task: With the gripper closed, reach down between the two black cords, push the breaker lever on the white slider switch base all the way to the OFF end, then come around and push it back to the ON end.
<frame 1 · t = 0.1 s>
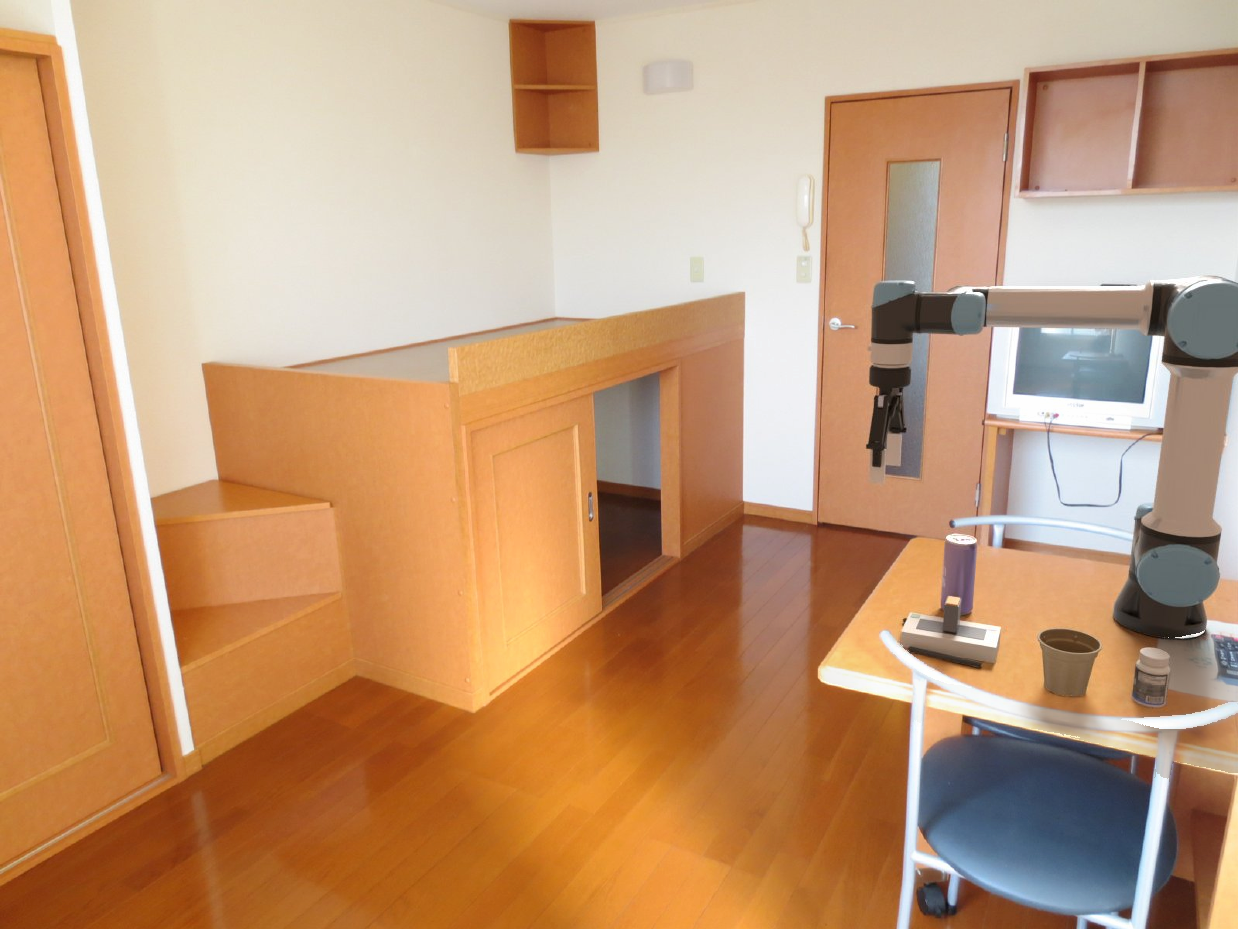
hand: (885, 473, 171), 28 cm above the table, fingers open, 13 cm apart
breaker lever: (952, 613, 160), point 6 cm above the table, slide at 0.0 cm
beverage can: (956, 611, 176), on the table
flower pot: (1064, 689, 146), on the table
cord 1: (944, 659, 156), on the table
pill bottle: (1148, 702, 141), on the table
white slider switch base: (950, 644, 162), on the table
cord 2: (949, 629, 168), on the table
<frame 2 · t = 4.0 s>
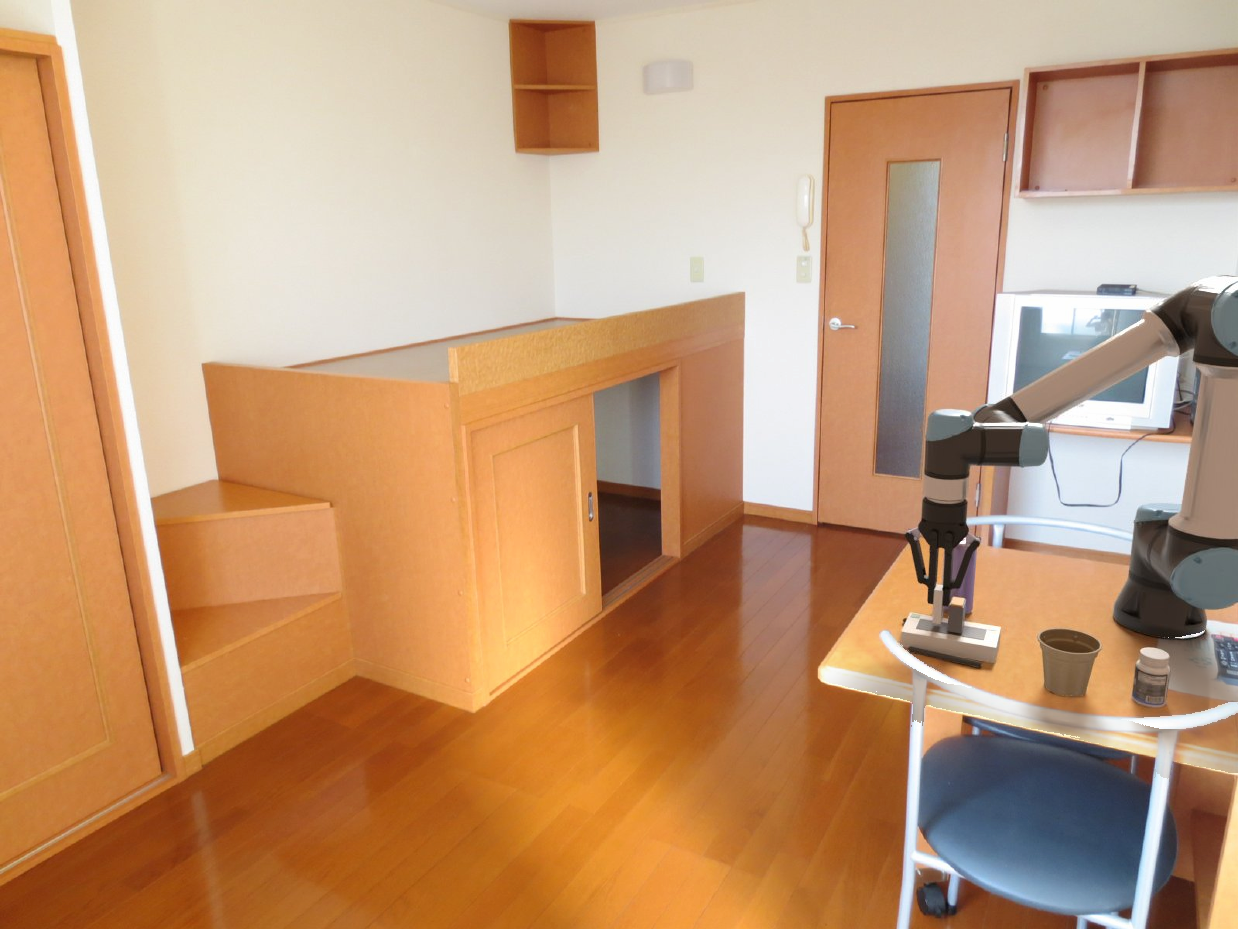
hand: (937, 620, 162), 4 cm above the table, fingers closed
breaker lever: (956, 614, 160), point 6 cm above the table, slide at -0.8 cm, touching gripper
everything else where it was.
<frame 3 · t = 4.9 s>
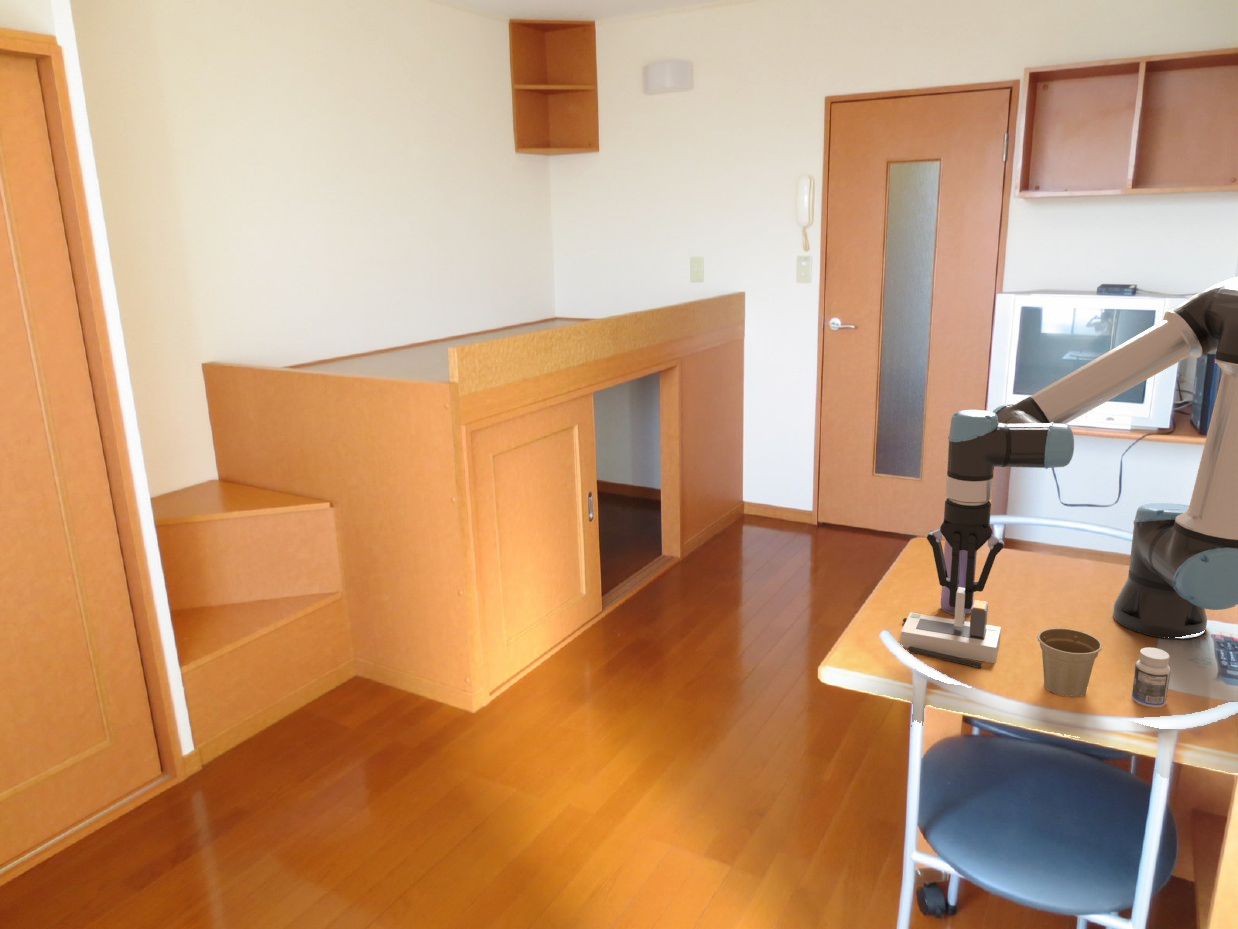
hand: (959, 623, 160), 4 cm above the table, fingers closed
breaker lever: (978, 618, 158), point 6 cm above the table, slide at -4.5 cm, touching gripper
everything else where it was.
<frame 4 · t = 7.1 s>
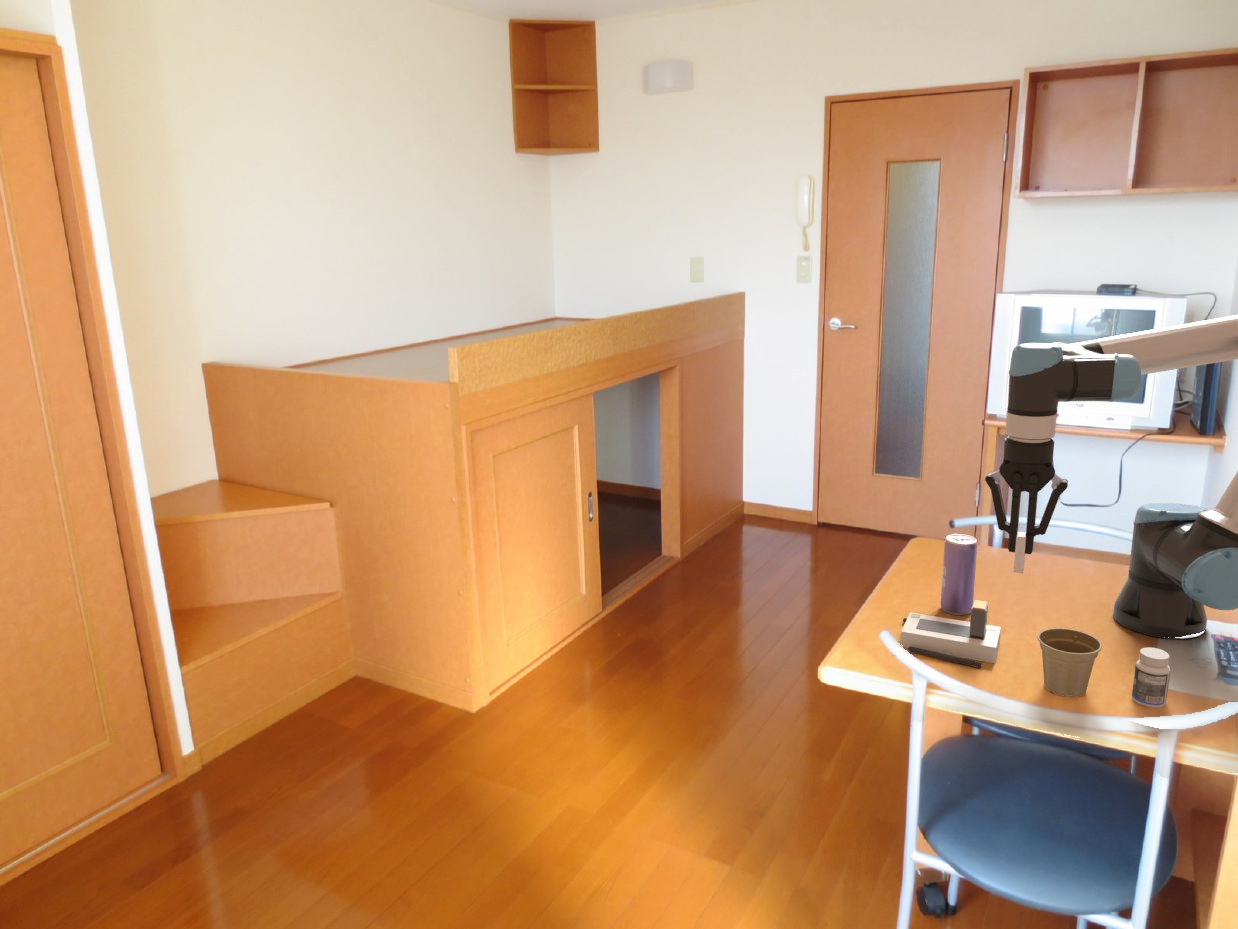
hand: (1018, 569, 153), 16 cm above the table, fingers closed
breaker lever: (978, 618, 158), point 6 cm above the table, slide at -4.5 cm
everything else where it was.
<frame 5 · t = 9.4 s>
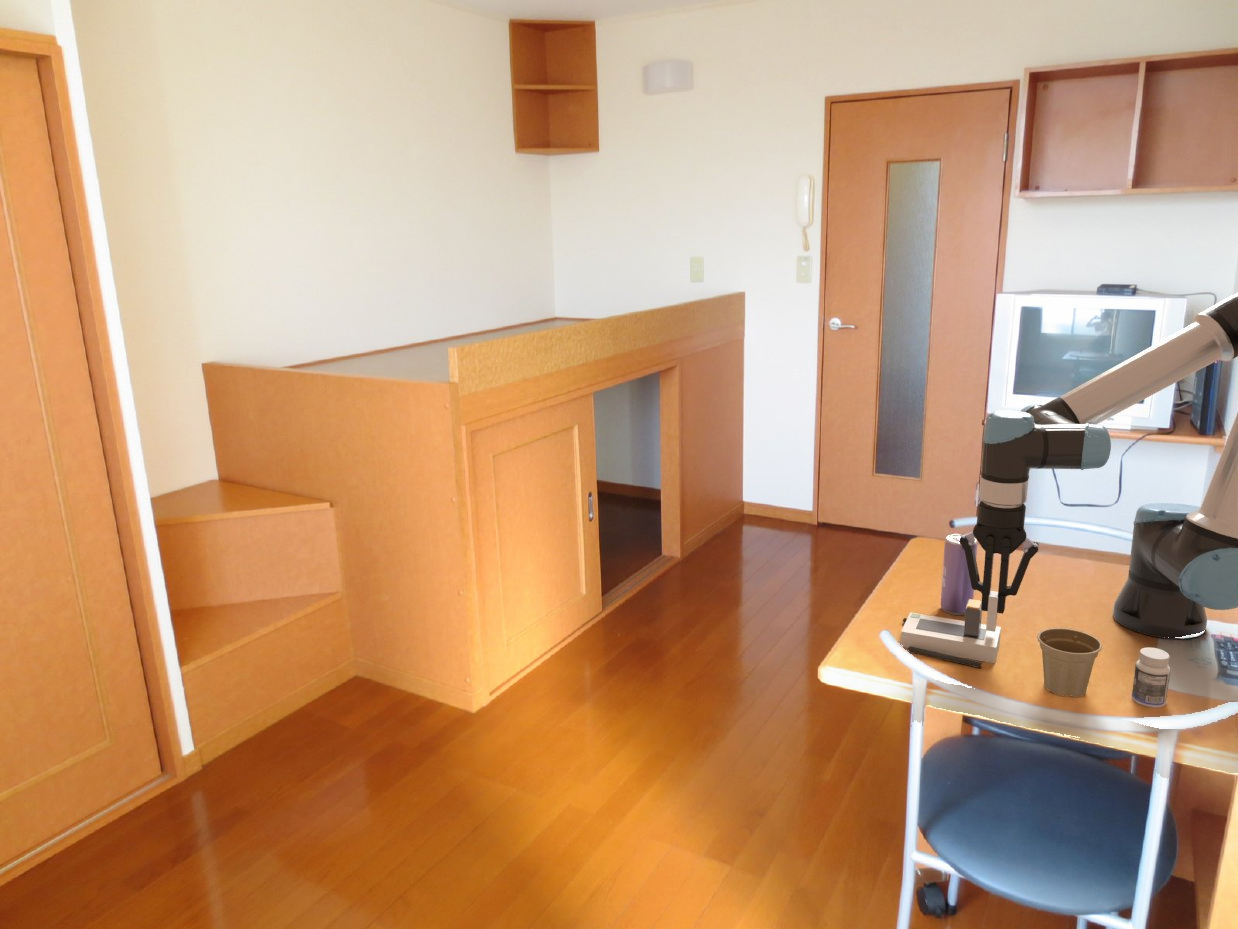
hand: (991, 628, 158), 5 cm above the table, fingers closed
breaker lever: (973, 617, 159), point 6 cm above the table, slide at -3.6 cm, touching gripper
everything else where it was.
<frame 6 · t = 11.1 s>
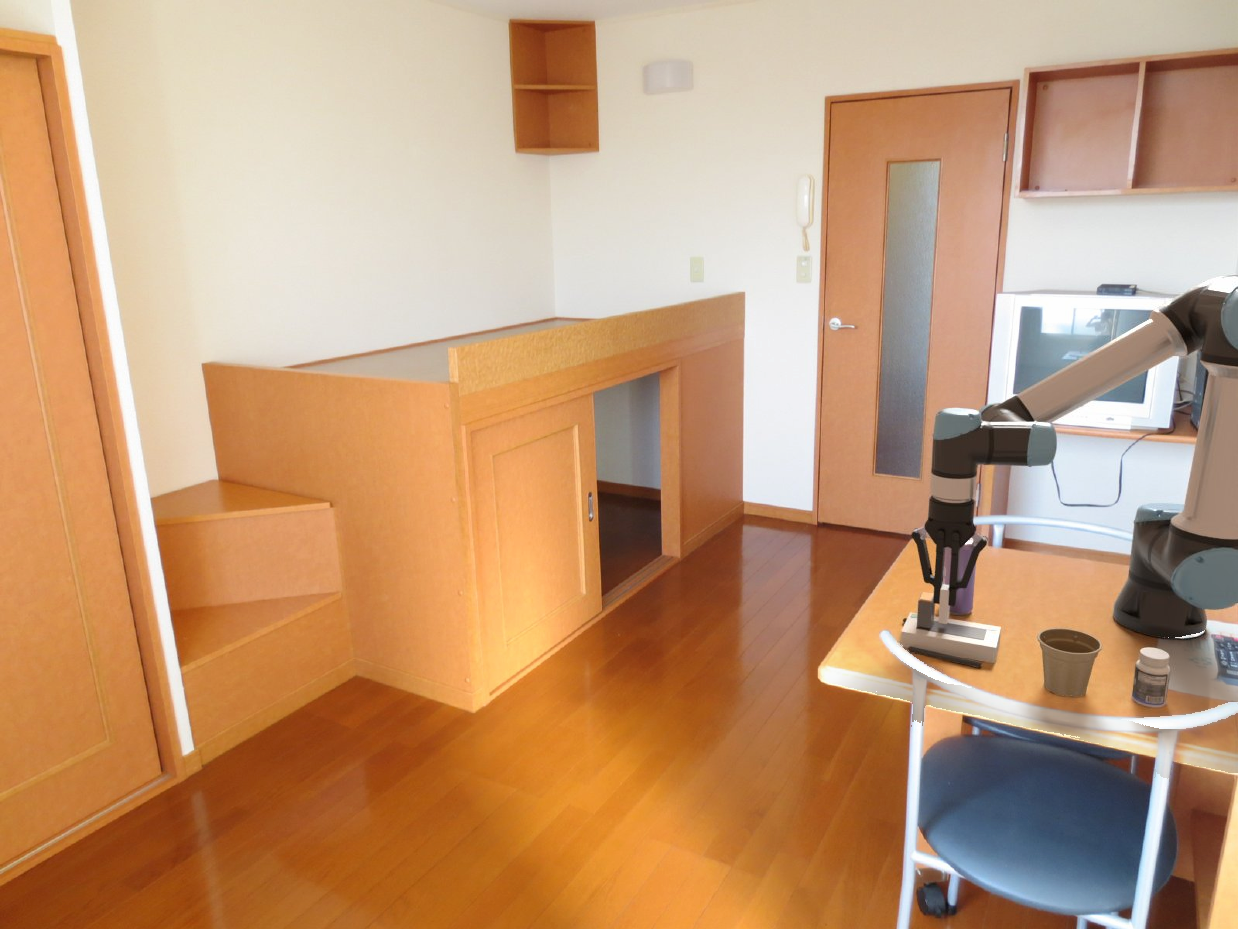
hand: (943, 620, 161), 5 cm above the table, fingers closed
breaker lever: (926, 609, 162), point 6 cm above the table, slide at 4.5 cm, touching gripper
everything else where it was.
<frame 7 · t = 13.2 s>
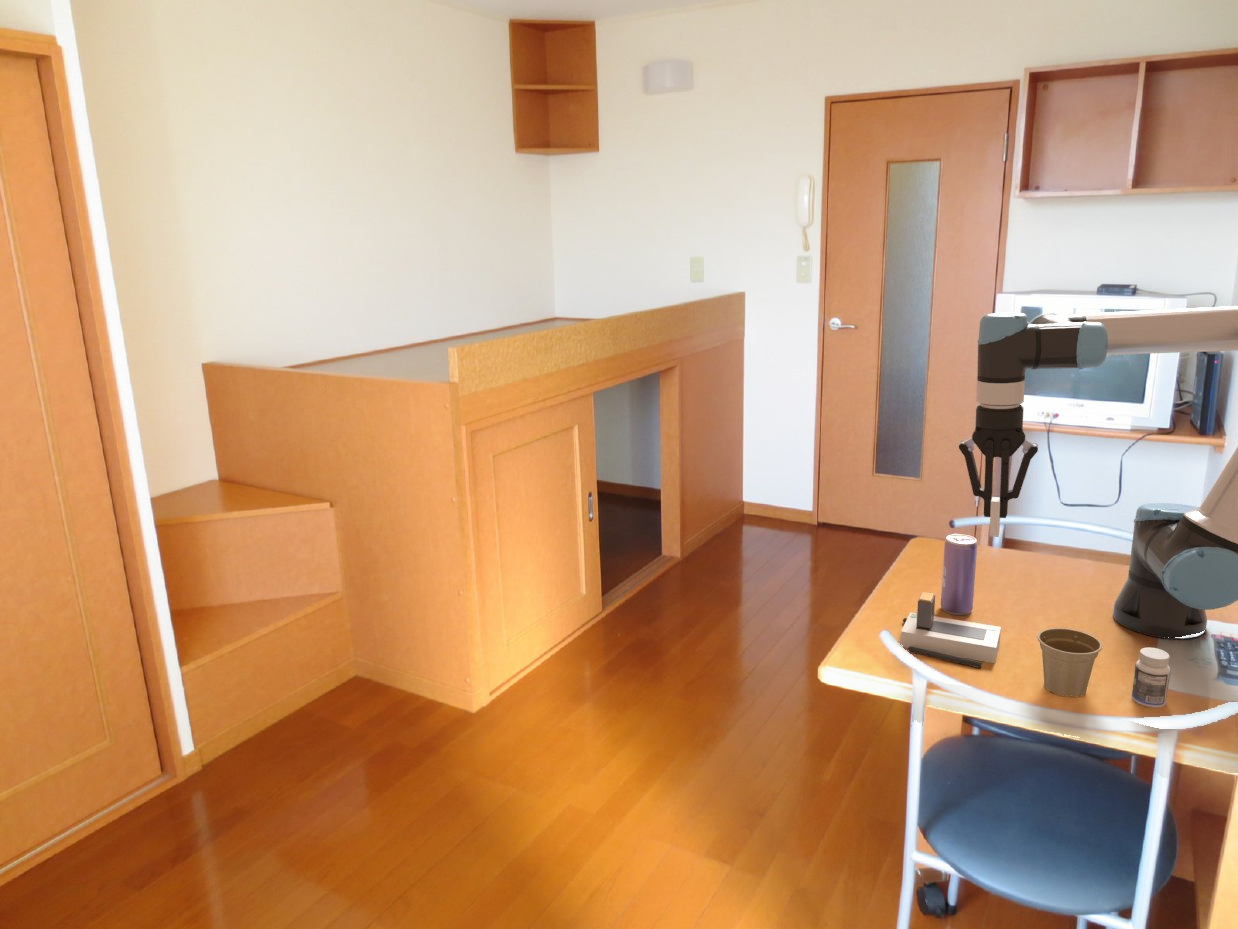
hand: (994, 534, 158), 21 cm above the table, fingers closed
breaker lever: (925, 609, 162), point 6 cm above the table, slide at 4.6 cm
everything else where it was.
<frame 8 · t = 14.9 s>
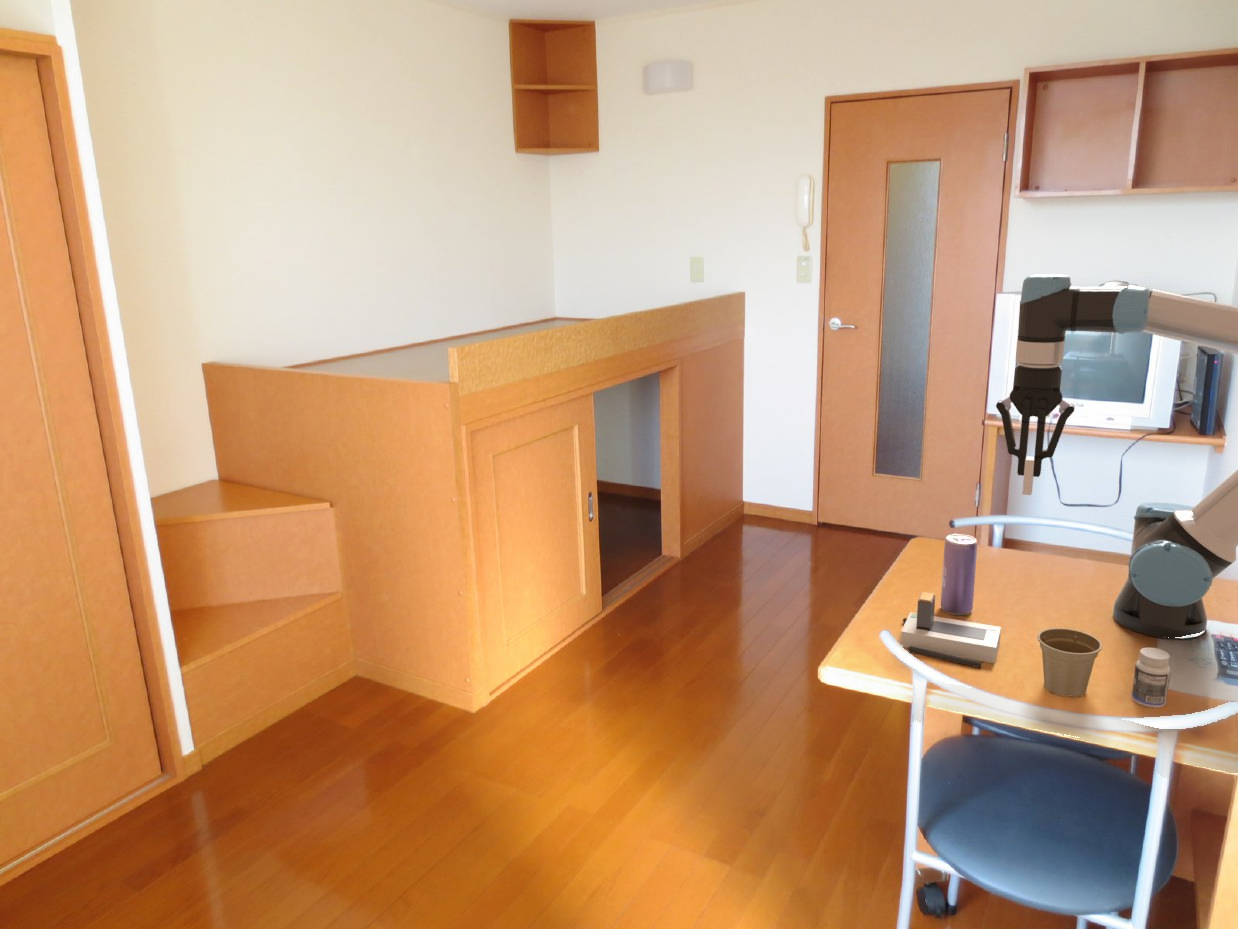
hand: (1027, 492, 162), 26 cm above the table, fingers closed
nothing on the table moved.
at the end: breaker lever slide at 4.6 cm; breaker lever touching nothing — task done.
